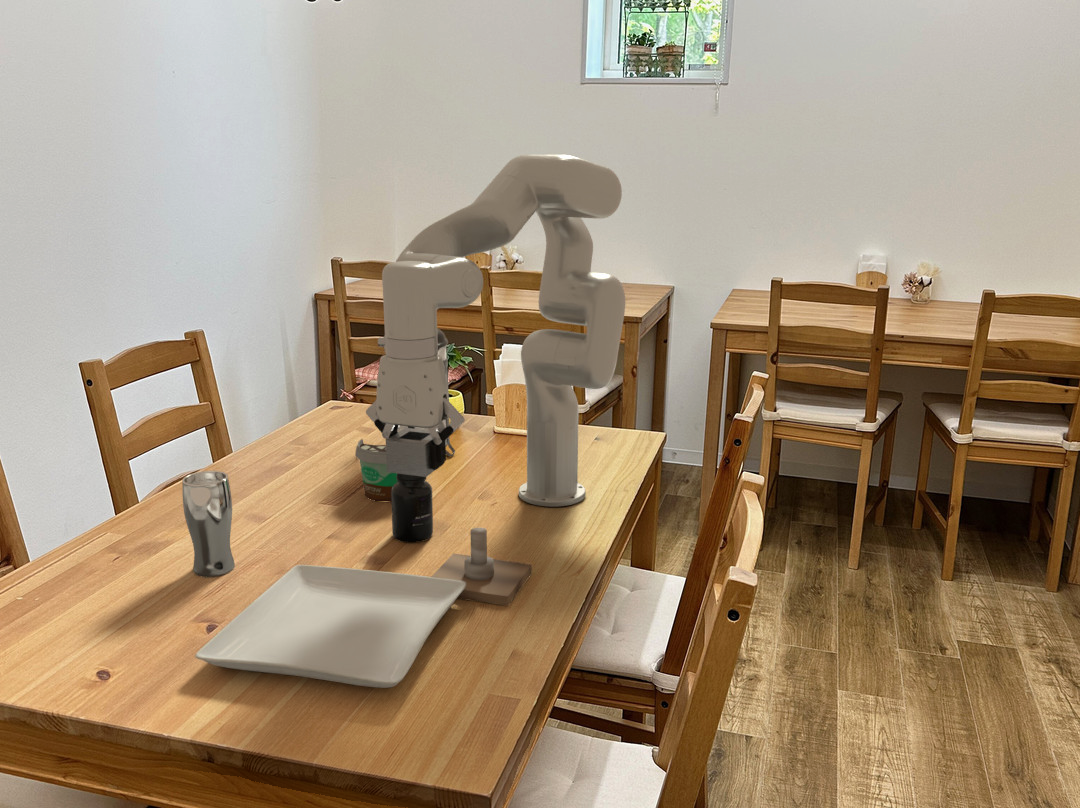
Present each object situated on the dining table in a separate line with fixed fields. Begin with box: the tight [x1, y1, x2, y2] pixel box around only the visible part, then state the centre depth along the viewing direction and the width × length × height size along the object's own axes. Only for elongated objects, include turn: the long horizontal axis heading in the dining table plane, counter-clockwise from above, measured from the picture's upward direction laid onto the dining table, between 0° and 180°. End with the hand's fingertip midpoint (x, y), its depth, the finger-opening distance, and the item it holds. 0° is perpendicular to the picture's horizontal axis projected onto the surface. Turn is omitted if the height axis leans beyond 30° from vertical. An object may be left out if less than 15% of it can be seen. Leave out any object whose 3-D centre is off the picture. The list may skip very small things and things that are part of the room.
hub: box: [385, 428, 446, 478], centre depth 137 cm, size 6×6×5 cm
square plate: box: [194, 564, 466, 689], centre depth 122 cm, size 27×27×4 cm
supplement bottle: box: [390, 473, 434, 544], centre depth 153 cm, size 7×7×12 cm
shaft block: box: [430, 527, 533, 607], centre depth 136 cm, size 11×13×8 cm
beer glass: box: [181, 470, 236, 578], centre depth 140 cm, size 7×7×15 cm
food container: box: [354, 438, 398, 502], centre depth 170 cm, size 12×6×10 cm, turn 68°
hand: (416, 463), depth 137 cm, fingers closed on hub, 6 cm apart
